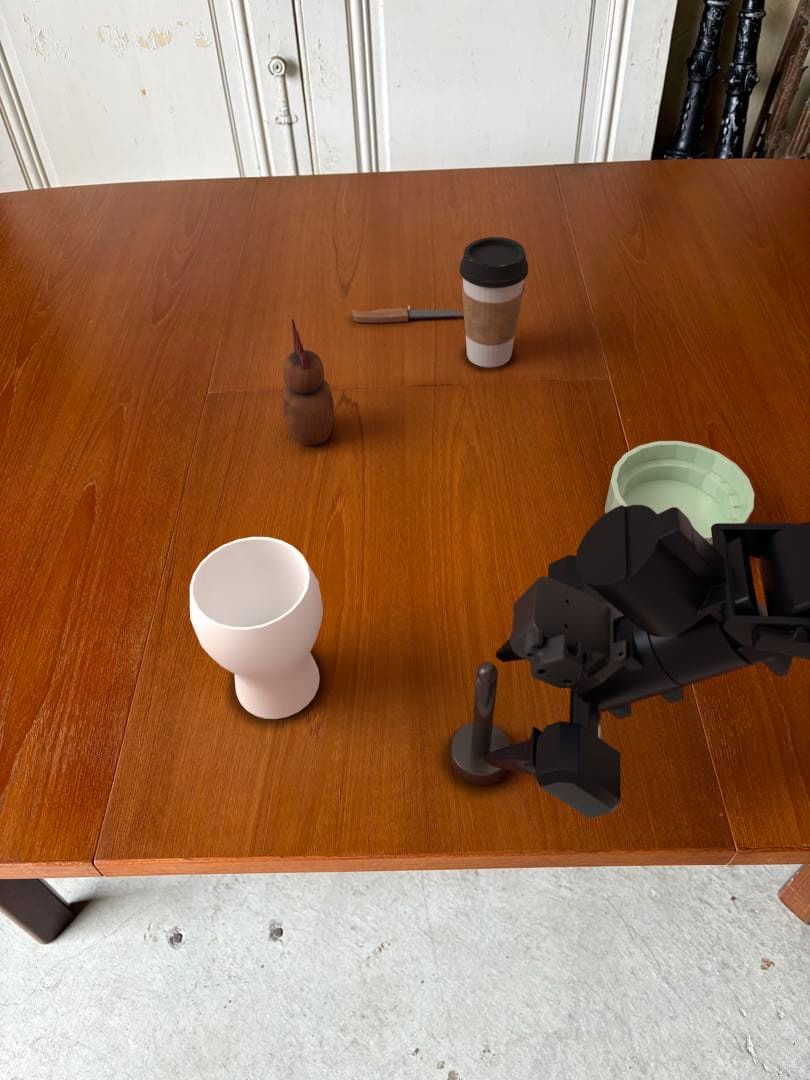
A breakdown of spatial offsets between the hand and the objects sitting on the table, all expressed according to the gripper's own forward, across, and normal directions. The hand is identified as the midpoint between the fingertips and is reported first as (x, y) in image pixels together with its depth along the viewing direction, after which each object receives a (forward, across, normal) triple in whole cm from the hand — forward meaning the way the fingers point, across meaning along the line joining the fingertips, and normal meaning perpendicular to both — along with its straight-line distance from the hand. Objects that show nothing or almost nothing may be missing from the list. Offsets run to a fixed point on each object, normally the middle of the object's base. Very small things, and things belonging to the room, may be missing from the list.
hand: (493, 707), depth 63 cm
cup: (+20, -5, -8) cm, 22 cm away
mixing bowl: (-6, -31, +18) cm, 36 cm away
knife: (+18, -66, -6) cm, 68 cm away
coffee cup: (+10, -58, +2) cm, 59 cm away
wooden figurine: (+24, -39, -11) cm, 47 cm away
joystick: (+7, 0, +6) cm, 9 cm away
